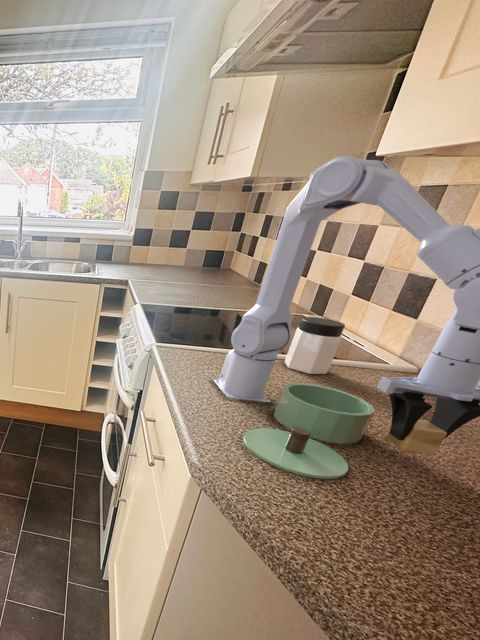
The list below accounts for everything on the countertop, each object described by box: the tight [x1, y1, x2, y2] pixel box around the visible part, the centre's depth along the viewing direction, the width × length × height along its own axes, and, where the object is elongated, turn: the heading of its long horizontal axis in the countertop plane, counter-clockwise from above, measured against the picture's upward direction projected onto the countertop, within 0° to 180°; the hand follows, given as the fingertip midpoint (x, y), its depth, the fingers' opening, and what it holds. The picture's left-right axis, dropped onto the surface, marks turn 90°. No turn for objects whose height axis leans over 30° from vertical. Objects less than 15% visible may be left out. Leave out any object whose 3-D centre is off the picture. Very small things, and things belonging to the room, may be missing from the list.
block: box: [385, 418, 447, 456], centre depth 64 cm, size 4×4×4 cm
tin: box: [273, 382, 376, 445], centre depth 74 cm, size 13×13×6 cm
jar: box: [284, 316, 346, 375], centre depth 101 cm, size 9×8×12 cm
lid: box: [242, 427, 350, 480], centre depth 66 cm, size 14×14×5 cm
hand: (413, 438), depth 64 cm, fingers closed on block, 4 cm apart
